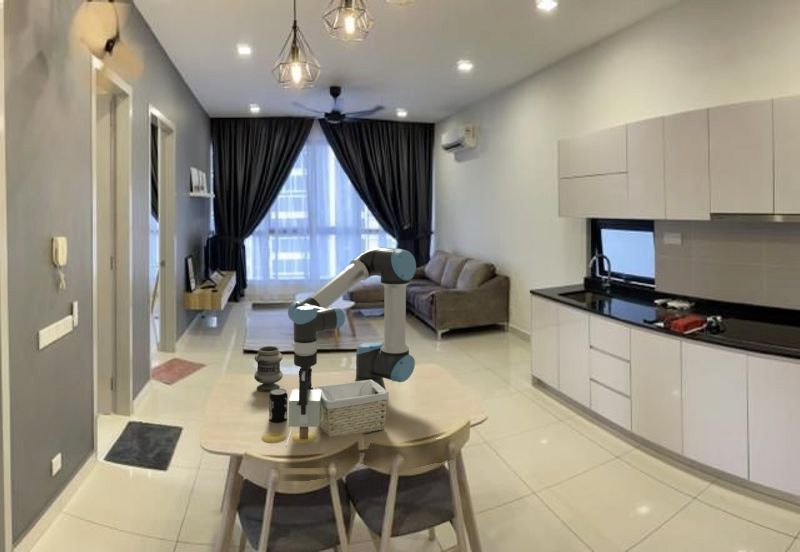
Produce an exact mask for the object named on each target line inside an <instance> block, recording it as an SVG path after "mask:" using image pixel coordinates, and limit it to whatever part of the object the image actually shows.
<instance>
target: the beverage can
mask: <svg viewBox="0 0 800 552" xmlns="http://www.w3.org/2000/svg"><path fill="white" fill-rule="evenodd" d="M269 393H270V394H269V396H268V397H269V398H268V401H269V402H268V421H269V423H273V424H281V423H285V422H286V421H288V410H289V399H288V397H289V395H288V393H287V390H286V389H284V388H280V389H273V390H271V392H269Z"/></svg>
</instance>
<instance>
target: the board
mask: <svg viewBox="0 0 800 552" xmlns="http://www.w3.org/2000/svg"><path fill="white" fill-rule="evenodd" d="M298 429H299V430H298V431H299V432H297V433H295V434H293V435H292V436H291V434H292V431H293V429H292V428H291V429H290V431H289V434H288V437H287V435H286V434H285V433H284V432H280V431H271V432H267V433H264V434H263V435H262V436H261V440H262V441H263V442H264V443H268V444H278V443H281V442H283V441H285V440H286V438H287V440H286V443H285V447H287V446H288V443H289V440H290V438H291V440H292V441H293V442H295V443H298V444H307V443H311V442H314V440H316V434H315V433H312V432H311V431H310V432H309V427H298Z"/></svg>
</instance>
